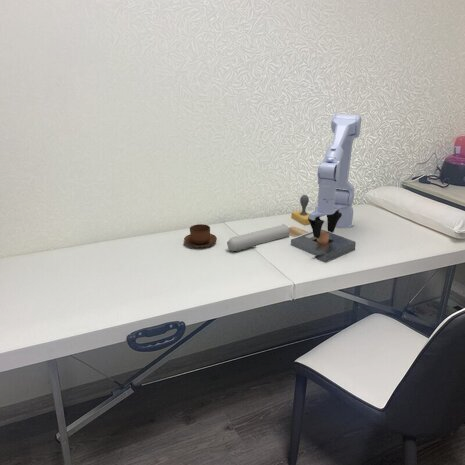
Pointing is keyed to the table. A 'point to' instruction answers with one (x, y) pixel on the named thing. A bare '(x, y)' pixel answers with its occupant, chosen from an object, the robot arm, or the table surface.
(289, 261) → the table surface
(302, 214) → the rubber stamp
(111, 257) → the table surface
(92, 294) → the table surface
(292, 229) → the tan square tile
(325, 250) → the grey square slab
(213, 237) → the cup and saucer
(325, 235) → the peg
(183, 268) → the table surface
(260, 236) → the tube
